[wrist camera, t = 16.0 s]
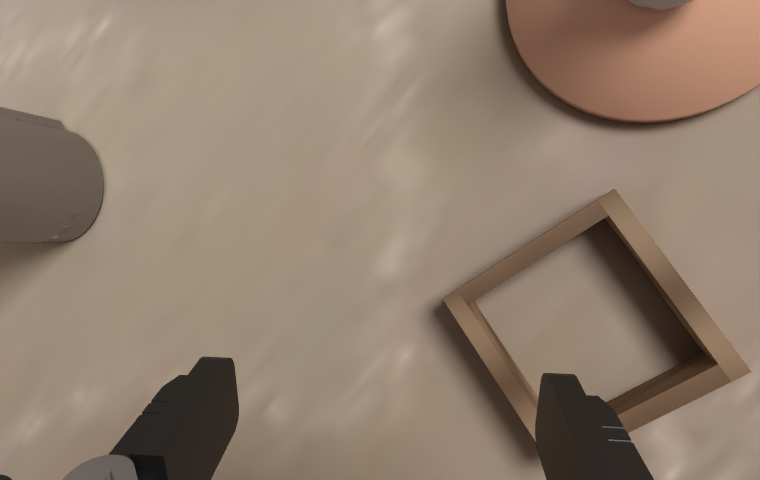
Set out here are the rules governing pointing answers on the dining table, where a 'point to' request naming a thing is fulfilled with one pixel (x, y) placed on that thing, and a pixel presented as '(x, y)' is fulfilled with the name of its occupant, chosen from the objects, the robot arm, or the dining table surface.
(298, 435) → the dining table surface
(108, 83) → the dining table surface
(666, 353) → the dining table surface
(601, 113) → the terracotta pad
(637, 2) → the salt shaker
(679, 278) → the brown wooden square frame
